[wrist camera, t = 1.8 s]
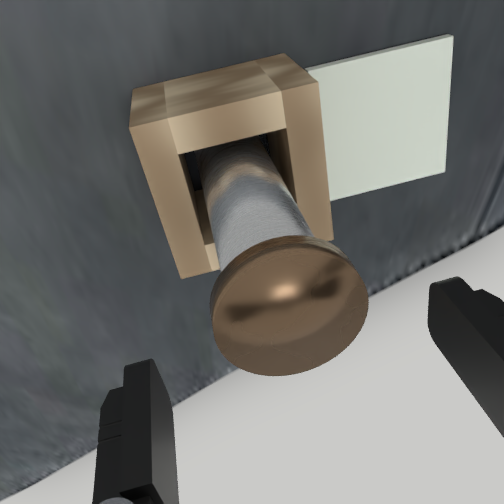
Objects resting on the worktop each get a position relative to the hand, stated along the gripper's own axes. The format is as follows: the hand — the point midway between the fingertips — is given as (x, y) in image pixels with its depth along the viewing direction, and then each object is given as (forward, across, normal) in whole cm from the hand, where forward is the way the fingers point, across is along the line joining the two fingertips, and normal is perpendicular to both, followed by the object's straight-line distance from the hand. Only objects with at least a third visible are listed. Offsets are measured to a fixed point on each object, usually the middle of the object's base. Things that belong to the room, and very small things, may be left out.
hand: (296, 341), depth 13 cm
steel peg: (+16, 0, 0) cm, 16 cm away
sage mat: (+16, -9, +1) cm, 18 cm away
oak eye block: (+16, 0, 0) cm, 16 cm away
